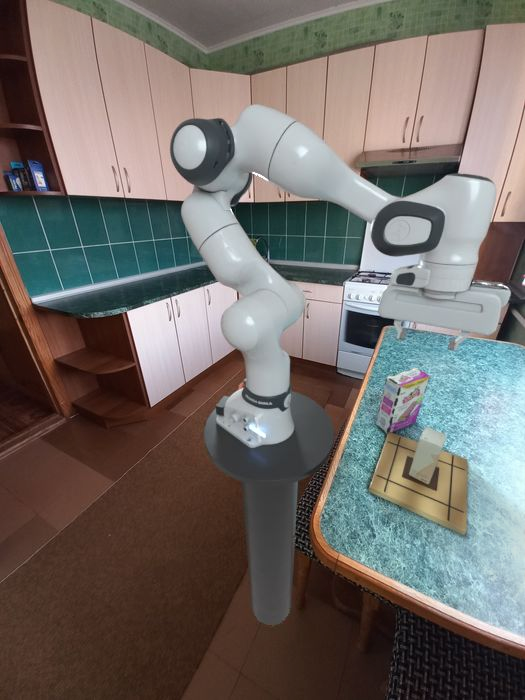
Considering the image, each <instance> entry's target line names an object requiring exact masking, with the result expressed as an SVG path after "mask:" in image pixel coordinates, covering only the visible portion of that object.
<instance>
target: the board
mask: <svg viewBox="0 0 525 700" xmlns="http://www.w3.org/2000/svg"><path fill="white" fill-rule="evenodd" d="M418 443H419V441H416V440H413V439H411V438H408V437H405V436H402V435H399V434H397V433H394V432H392V433H391V432H389V433H388V434H387V435H386V439H385V442H384V443H383V447H382V450H381V453H380V456H379V459H378V461H377V463H376V466H375V467H376V468H375V470H374V473H373V476H372V479H371V482H370V483H369V484H370V485H369V487H368V493H371V494H373V495H375V496H377V497H379V498H381V499H383V500H386V501H388V502H390V503H393V504H395V505H397V506H399V507H401V508H403V509H405V510H408V511H409V512H412V513H414V514H416V515H419V516H421V517H423V518H425V519H427V520H429V521H431V522H433V523H436V524H438V525H439V526H443V527H445V528H447V529H449V530H451V531H453V532H455V533H458V534H459V535H461V536H465V535H466V533H467V517H468V516H467V515H468V512H467V511H468V510H467V509H468V458H465V457H462V456H460V455H456V454H454V453H451V452H448V451H445V450H442V451H441V453H440V456H439V459H438V462H437V464H436V467H435V470H434V473H433V475H432V478H431V480H430V483H429V484H426V483H424V482H422V481H420V480H418V479H416V478H414V477H412V476H410V475H409V472H410V469H411V465H412V462H413V459H414V455H415V452H416V449H417V446H418Z"/></svg>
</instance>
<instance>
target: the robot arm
mask: <svg viewBox="0 0 525 700" xmlns="http://www.w3.org/2000/svg"><path fill="white" fill-rule="evenodd" d="M169 143H170V144H169V153H170V159H171V162H172V165H173V167H174V168H175V170H176V172H178V174H179V175H180V176H181V177H182V178H183V179H184V180H185V181H186V182H187V183H189V184H191V185H193V189H192V191H191V193H190V194H189V195H188V196H187V197H186V198H185V199H184V201H183V203H182V204H181V207H180V208H181V209H180V215H181V219H182V222H183V224H184V226H185V229H186V231H187V233H188V236H189V237H190V240H191V241H192V243H193V245H194V247H195V248H196V250H197V251H198V253H199V254H200V255H199V256H200V257H201V258H202V259H203V261H204V263H205V264H206V266H207V267H208V269H209V270H210V272H211V273H212V275H213V277H214V278H215V279H216V281H217V282H218V283H219V284H221V285H222V286H224V287H227V288H231V289H232V290H233V291H236V292H237V293H238V294H240V295H241V296H242V297H240V298H238V299H237V300H236V301H234V302H233V303H232V304H231V305H230V306H228V308H226V309H225V310H224V311H223V313H222V315H221V317H220V330H221V333H222V336H223V338H224V339H225V341H226V342H227V343H228V344H229V345H230V346H231V347H232V348H234V349H235V350H238V351H239V352H240V353H241V355H242V357H243V360H244V365H245V377H246V378H244V379H243V381H242V382H241V383H239V385H237V387H238V389H237V390H236V391H235V392H233V393H232V394H231V395H230V396H227V395H223V396H222V397H221V399H219V401H218V402H217V403H216V404H215V408H216V414H218V415H217V418H216V423H217V424H219V425H220V426H221V427H223V428H224V429H225V430H227V431H228V432H229V433H231V434H232V435H233V436H235V437H236V438H237V439H239V440H240V441H241V442H243V443H244V444H246V445H247V446H248V447H250V448H255V447H258V446H261V445H268V444H276V443H280V442H282V441H284V440H286V439H288V438H289V437H290V436H291V435H292V433H293V431H294V422H293V419H292V415H291V409H290V402H291V391H292V383H291V380H290V379H291V358H290V356H289V354H288V352H286V351H285V350H284V349H282V346H281V337H282V334H283V332H284V331H286V330H287V329H288V328H290V327H291V326H293V325H294V324H295V323H296V322H297V321H299V319H300V317H301V316H302V315H303V314H304V311H305V309H306V306H307V299H306V295H305V292H304V291H303V289H302V288H301V287H300V286H299V285H298V284H296V283H295V282H292V281H290V280H288V279H286V278H285V277H283V276H282V274H279V272H277V270H275V268H273V267H272V266H271V265H270V263H268V262H267V261H266V260H265V258H264V257H263V256H262V255H261V254H260V252H259V251H258V250H257V248H256V247H255V246H254V244H253V242H252V240H251V239H250V238H249V236H248V234H247V233H246V232H245V230H244V229H243V227H242V226H241V224H240V222H239V221H238V219H237V218H236V216H235V214H234V212H233V211H232V208H234V207H236V206H237V205H238V203H239V202H240V200H241V198H243V196H244V195H245V194H246V193H247V191H249V189H250V187H251V184H252V181H253V177H254V176H253V175H254V174H255V175H256V176H257V175H258V176H259V177H261V178H263V179H264V180H265V181H267V182H268V183H270V184H272V185H273V186H274V187H276V188H278V189H280V190H281V191H283V192H286V193H288V194H290V195H292V196H295V197H298V198H301V199H302V198H303V199H308V200H309V199H310V200H311V199H312V200H321V201H325V202H331V203H333V204H337V205H338V206H341V207H342V208H344V209H345V210H347V211H348V212H351V213H352V214H354V215H355V216H357V217H359V218H360V219H362V220H363V221H366V222H367V223H368V224H370V225H371V226H370V239H371V243H372V245H373V246H374V248H375V250H377V251H378V252H379V253H381V254H383V255H385V256H387V257H395V258H397V257H399V258H400V257H406V256H413V255H420V260H419V263H416V264H415V263H414V264H411V265H405V266H401V267H397V268H396V269H394V270H393V271H392V273H391V275H390V279H389V284H387V286H386V287H385V288H384V289H383V292H382V294H381V297H380V300H379V303H378V307H377V314H378V315H379V317H381V318H384V319H390V320H391V319H392V320H394V321H393V326H394V328H395V330H396V332H397V335H396V340H398V341H405V340H406V336H407V330H405V329H403V327H402V324H403V322H407V323H414V324H420V325H425V326H430V327H437V328H441V329H442V328H443V329H448V330H454V331H459V336H458V337H456V338H455V339H453V338H450V339H449V342H448V346H447V350H448V351H453V352H457V350H458V347H459V345H460V344H461V343H463V342H464V341H466V340H467V339H468V338H469V336H470V334H471V333H472V334H478V335H483V336H490V335H492V334H493V333H496V331H497V329H498V325H499V322H500V318H501V313H502V308H505V307H506V306H507V304H508V303H509V301H510V299H511V296H512V290H511V288H510V287H508V286H507V285H506V284H504V283H503V282H500V281H487V280H482V279H473V278H474V275H475V273H476V270H477V265H478V263H479V253H480V247H481V245H482V244H483V241H484V240H485V238H486V237H487V234H488V232H489V228H490V225H491V221H492V217H493V214H494V210H495V204H496V201H497V200H496V198H497V186H496V184H495V182H494V181H493V180H491V179H490V178H489V177H487V176H483V175H477V174H470V173H461V172H459V173H457V172H455V173H450V174H446V175H445V176H444V177H442V178H441V179H439V180H438V181H436V182H435V183H433V184H431V185H429V186H428V187H425V188H423V189H421V190H419V191H417V192H415V193H412V194H409V195H407V196H399V195H394V194H391V193H389V192H388V191H386V190H383V189H382V188H380V187H379V186H377V185H375V184H374V183H372V182H371V181H369V180H367V179H365V177H362V176H361V175H359V174H358V173H356V172H355V171H354V170H353V169H351V167H350V166H349V165H347V163H345V161H344V160H343V159H342V158H341V157H340V156H339V155H338V153H336V152H335V150H334V149H333V148H332V147H331V146H330V145H329V144H328V143H327V142H326V141H325V140H324V139H323V138H322V137H321V136H320V135H319V134H317V133H316V132H315V131H313V129H311V128H310V127H308V126H307V125H306V124H304V123H303V122H301V121H300V120H298V119H296V118H294V117H292V116H291V115H289V114H287V113H285V112H282V111H280V110H278V109H275V108H272V107H270V106H267V105H263V104H259V103H255V104H250V105H248V106H246V107H245V108H244V109H243V110H242V111H241V113H240V114H239V116H238V117H237V119H236V121H235V123H234V124H233V125H231V126H230V125H229V123H228V122H227V121H226V120H225V119H224V118H222V117H217V118H198V117H196V118H195V117H194V118H188V119H186V120H184V121H182V122H181V123H179V124H178V126H177V127H176V128H175V129H174V131H173V132H172V136H171V139H170V142H169Z"/></svg>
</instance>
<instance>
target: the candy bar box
mask: <svg viewBox="0 0 525 700" xmlns="http://www.w3.org/2000/svg"><path fill="white" fill-rule="evenodd" d="M430 379H431V375H430V374H428V373H426V372H424V371H422V370H420V369H419V368H417V367H414V368H410V369H408V370H405V371H402V372H398V373H395V374H392V375H389V376H386V377H385V381H384V386H383V391H382V395H381V399H380V403H379V408H378V411H377V415H376V420H375V426H377V427H378V428H379V429H380V430H382V431H383V432H384V433H385V434H386V435H388V433H389V432H391V433H394V432H395V433H396V432H397V431H399V430H402V429H403V428H406V427H408V426H410V425H413V424H415V423H416V421H417V419H418V415H419V412H420V409H421V406H422V403H423V400H424V397H425V394H426V391H427V389H428V388H427V387H428V385H429V382H430Z"/></svg>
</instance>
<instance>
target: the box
mask: <svg viewBox="0 0 525 700" xmlns="http://www.w3.org/2000/svg"><path fill="white" fill-rule="evenodd" d="M447 437H448V435H447V434H445V433H443V432H441V431H438V430H435V429H434V428H431V427H429V426H425V427H424V429H423V431H422V433H421V435H420V436H419V440H418V442H419V443H418V446H417V449H416V452H415V455H414V459H413V462H412V465H411V469H410V472H409V475H410V476H412V477H414V478H416V479H418V480H420V481H422V482H424V483H426V484H429V483H430V480H431V478H432V475H433V473H434V470H435V467H436V464H437V462H438V459H439V456H440V453H441V451H443V448H444V446H445V443H446V440H447Z"/></svg>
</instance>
